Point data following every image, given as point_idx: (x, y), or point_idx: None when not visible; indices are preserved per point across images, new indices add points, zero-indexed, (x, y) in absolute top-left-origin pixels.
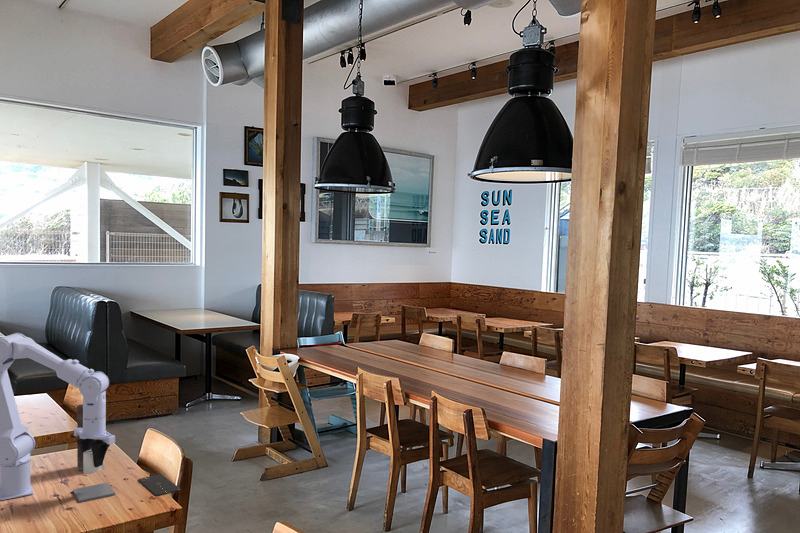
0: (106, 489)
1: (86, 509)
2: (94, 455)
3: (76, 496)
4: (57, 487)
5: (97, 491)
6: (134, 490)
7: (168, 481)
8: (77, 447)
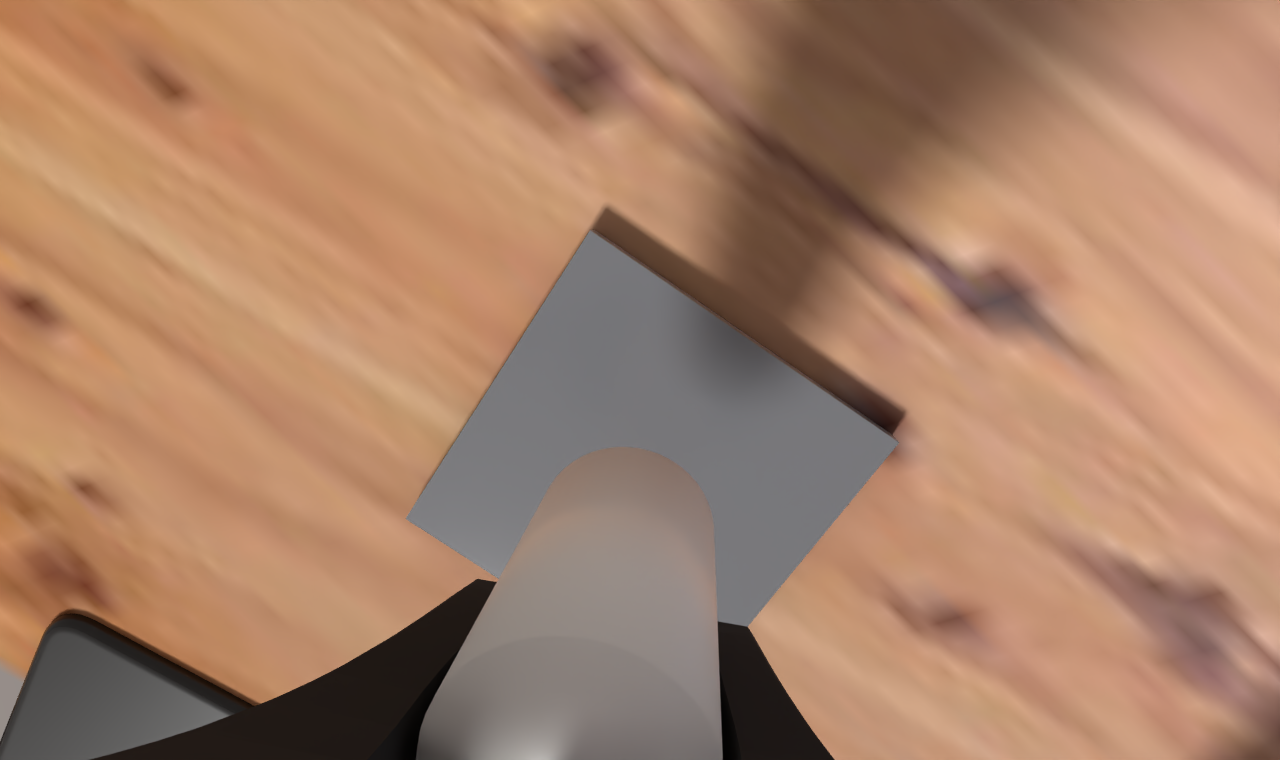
0: None
1: (394, 123)
2: (359, 687)
3: (726, 322)
4: (1147, 466)
5: None
6: (338, 653)
7: None
8: None
